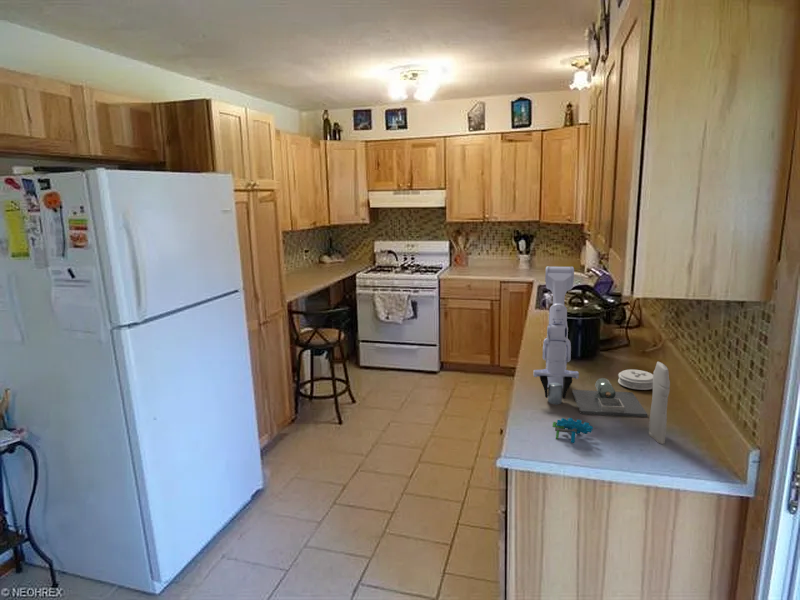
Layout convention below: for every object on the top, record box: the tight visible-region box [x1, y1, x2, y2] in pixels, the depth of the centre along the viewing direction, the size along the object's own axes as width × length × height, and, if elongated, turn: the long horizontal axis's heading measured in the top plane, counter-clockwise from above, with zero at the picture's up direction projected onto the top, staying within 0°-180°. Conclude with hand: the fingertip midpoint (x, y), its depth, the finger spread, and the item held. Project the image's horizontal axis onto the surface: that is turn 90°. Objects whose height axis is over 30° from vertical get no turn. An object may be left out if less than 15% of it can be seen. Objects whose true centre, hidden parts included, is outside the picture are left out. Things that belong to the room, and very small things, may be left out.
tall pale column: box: [648, 361, 671, 445], centre depth 142 cm, size 11×4×22 cm, turn 170°
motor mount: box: [572, 377, 648, 418], centre depth 167 cm, size 18×20×6 cm
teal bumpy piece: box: [552, 417, 594, 444], centre depth 143 cm, size 11×6×10 cm
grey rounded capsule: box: [547, 383, 563, 405], centre depth 170 cm, size 4×4×6 cm
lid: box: [617, 369, 653, 391], centre depth 183 cm, size 13×13×5 cm
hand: (554, 397), depth 170 cm, fingers open, 5 cm apart
